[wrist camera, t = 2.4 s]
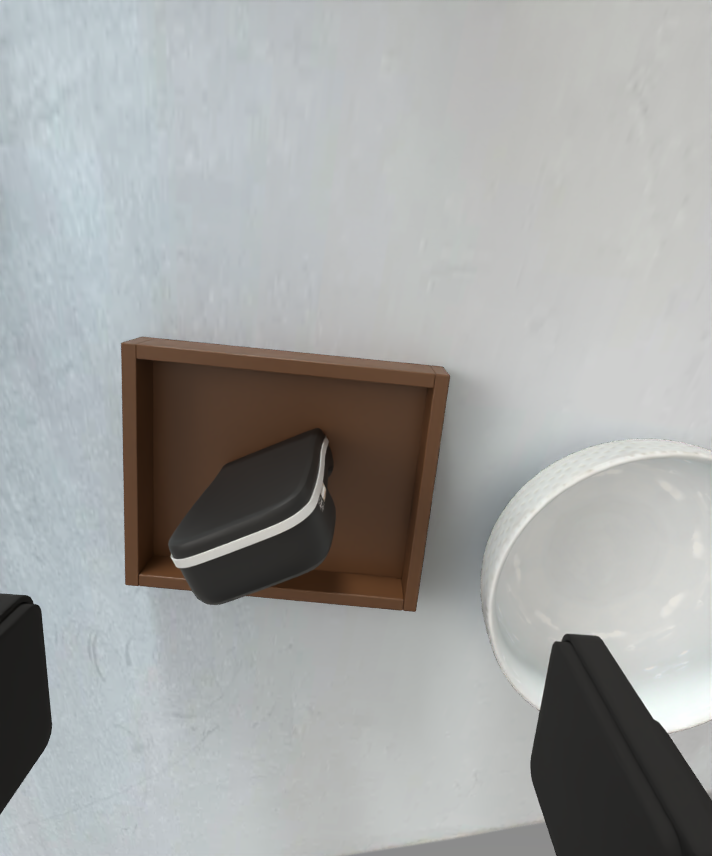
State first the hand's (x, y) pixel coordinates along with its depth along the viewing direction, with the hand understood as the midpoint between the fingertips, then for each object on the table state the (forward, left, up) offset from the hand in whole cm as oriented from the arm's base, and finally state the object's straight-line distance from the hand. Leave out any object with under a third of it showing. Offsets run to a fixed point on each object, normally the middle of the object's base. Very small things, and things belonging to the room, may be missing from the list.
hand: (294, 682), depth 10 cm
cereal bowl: (+17, -8, -24) cm, 30 cm away
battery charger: (-3, -5, -24) cm, 24 cm away
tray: (-3, -5, -24) cm, 24 cm away
